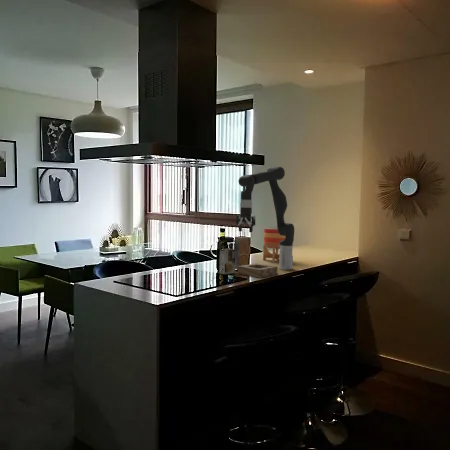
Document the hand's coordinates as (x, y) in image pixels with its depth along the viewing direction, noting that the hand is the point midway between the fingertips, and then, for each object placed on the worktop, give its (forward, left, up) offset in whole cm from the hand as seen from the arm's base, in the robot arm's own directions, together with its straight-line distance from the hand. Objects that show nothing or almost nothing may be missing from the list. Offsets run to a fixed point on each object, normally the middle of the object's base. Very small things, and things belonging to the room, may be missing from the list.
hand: (245, 231), depth 287 cm
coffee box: (-1, -16, -29) cm, 34 cm away
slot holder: (-14, 0, -29) cm, 32 cm away
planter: (-72, -28, -29) cm, 83 cm away
